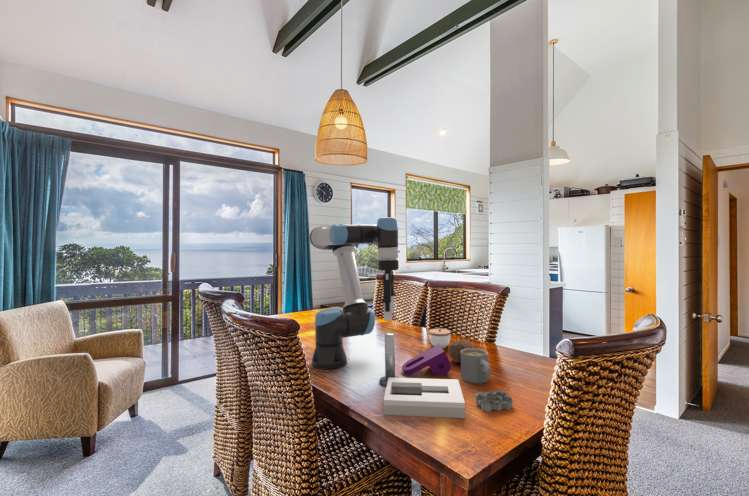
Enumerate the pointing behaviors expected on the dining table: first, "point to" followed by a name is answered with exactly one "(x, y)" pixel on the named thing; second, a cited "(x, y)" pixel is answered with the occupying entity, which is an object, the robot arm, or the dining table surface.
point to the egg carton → (493, 400)
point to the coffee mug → (474, 365)
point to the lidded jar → (439, 337)
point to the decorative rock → (458, 349)
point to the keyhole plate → (424, 398)
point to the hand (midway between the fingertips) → (389, 316)
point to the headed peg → (389, 359)
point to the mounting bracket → (429, 362)
